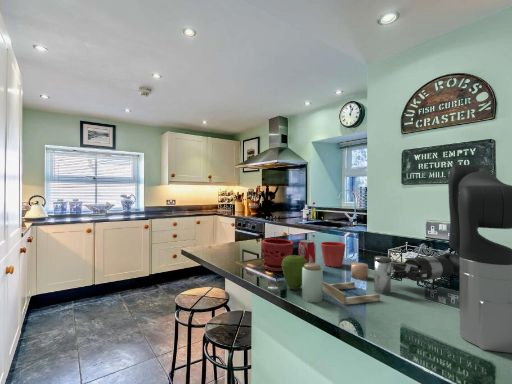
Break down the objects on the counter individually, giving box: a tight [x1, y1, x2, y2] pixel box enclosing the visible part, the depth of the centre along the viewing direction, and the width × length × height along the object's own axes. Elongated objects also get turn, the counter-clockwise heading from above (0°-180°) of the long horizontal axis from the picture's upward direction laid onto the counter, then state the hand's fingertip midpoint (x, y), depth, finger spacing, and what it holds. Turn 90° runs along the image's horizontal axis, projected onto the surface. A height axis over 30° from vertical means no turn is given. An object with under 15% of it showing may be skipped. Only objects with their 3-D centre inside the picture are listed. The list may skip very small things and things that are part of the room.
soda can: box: [297, 239, 317, 264], centre depth 114 cm, size 7×7×12 cm
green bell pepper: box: [282, 254, 307, 291], centre depth 90 cm, size 9×8×12 cm
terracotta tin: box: [350, 262, 369, 281], centre depth 104 cm, size 6×6×5 cm
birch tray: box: [322, 280, 381, 306], centre depth 84 cm, size 12×12×3 cm
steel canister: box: [373, 255, 392, 295], centre depth 88 cm, size 5×5×11 cm
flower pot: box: [320, 241, 346, 268], centre depth 122 cm, size 11×11×10 cm
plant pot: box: [261, 238, 294, 272], centre depth 114 cm, size 13×13×12 cm
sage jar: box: [301, 262, 324, 304], centre depth 81 cm, size 6×6×10 cm
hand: (384, 271), depth 88 cm, fingers open, 8 cm apart
